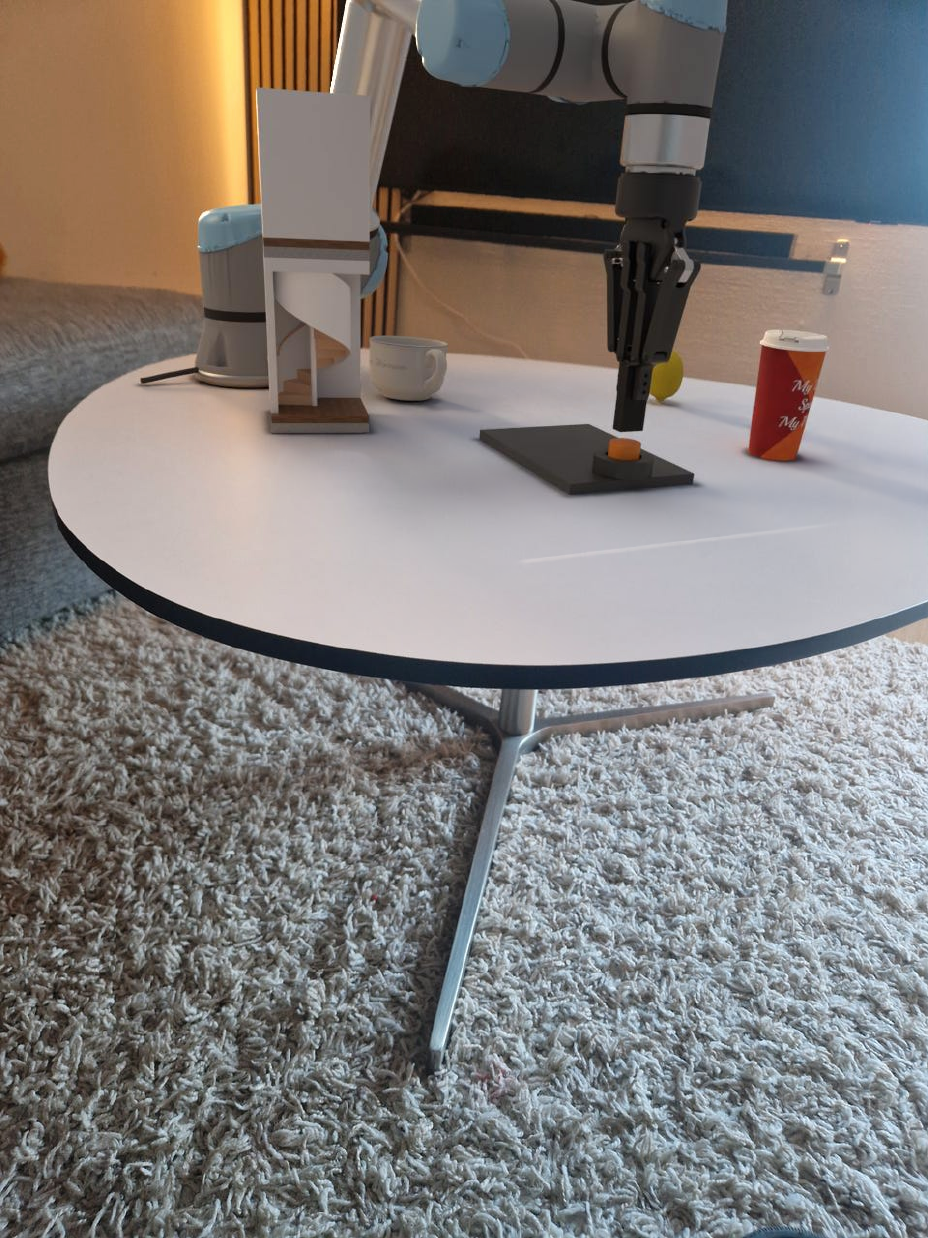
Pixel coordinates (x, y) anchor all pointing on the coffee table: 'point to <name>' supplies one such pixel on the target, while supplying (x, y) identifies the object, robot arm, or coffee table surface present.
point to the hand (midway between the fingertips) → (627, 429)
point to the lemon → (667, 377)
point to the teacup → (407, 366)
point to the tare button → (624, 449)
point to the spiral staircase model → (314, 254)
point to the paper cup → (785, 391)
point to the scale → (582, 459)
